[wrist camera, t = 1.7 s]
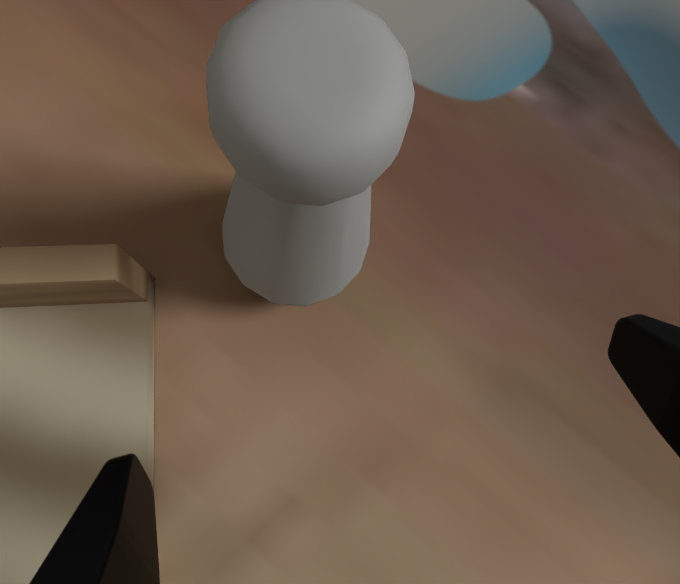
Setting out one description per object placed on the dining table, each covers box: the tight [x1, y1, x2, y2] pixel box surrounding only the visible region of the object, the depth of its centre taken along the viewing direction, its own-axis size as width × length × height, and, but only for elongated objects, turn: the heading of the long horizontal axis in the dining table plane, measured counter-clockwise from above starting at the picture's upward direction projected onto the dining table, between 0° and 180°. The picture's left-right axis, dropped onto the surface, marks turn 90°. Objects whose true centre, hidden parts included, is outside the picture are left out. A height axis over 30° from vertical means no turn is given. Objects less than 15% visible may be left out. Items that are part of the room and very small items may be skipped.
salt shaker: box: [206, 0, 415, 306], centre depth 16 cm, size 6×6×13 cm
